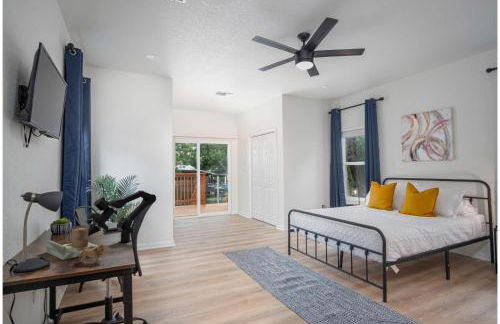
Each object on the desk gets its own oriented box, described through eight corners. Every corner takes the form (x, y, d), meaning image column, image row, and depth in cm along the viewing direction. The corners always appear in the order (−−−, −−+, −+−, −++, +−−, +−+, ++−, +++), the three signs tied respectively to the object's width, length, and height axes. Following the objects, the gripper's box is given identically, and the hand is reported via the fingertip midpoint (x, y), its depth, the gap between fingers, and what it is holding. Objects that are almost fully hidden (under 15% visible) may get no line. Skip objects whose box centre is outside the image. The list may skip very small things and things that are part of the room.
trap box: (84, 245, 183) (84, 234, 183) (101, 251, 169) (102, 240, 170) (46, 252, 167) (46, 240, 167) (62, 259, 153) (63, 247, 153)
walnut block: (82, 244, 175) (82, 227, 175) (87, 246, 171) (88, 229, 171) (71, 246, 170) (72, 229, 170) (76, 248, 166) (77, 230, 166)
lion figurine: (108, 259, 154) (108, 242, 154) (105, 262, 149) (106, 245, 149) (76, 261, 150) (77, 244, 151) (73, 265, 145) (74, 246, 145)
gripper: (89, 206, 184) (69, 226, 175) (104, 208, 173) (83, 230, 163) (101, 217, 190) (82, 237, 181) (116, 220, 179) (97, 241, 169)
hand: (86, 236), depth 173 cm, fingers closed
